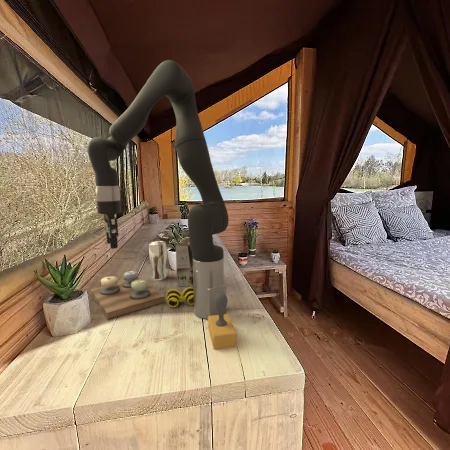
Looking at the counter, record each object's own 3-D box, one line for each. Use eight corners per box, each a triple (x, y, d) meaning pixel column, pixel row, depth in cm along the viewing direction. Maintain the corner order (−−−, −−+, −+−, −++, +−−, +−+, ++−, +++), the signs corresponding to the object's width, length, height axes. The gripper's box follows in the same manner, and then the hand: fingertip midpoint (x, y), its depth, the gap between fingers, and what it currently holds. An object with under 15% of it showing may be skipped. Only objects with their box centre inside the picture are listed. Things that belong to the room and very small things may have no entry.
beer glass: (146, 279, 111) (144, 243, 109) (158, 274, 117) (156, 240, 115) (160, 282, 108) (158, 245, 106) (171, 276, 114) (169, 241, 112)
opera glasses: (167, 310, 87) (167, 297, 85) (166, 300, 91) (166, 288, 90) (197, 306, 89) (198, 293, 88) (195, 297, 94) (195, 284, 92)
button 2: (149, 288, 91) (149, 282, 90) (134, 292, 88) (134, 286, 87) (143, 284, 95) (143, 278, 94) (129, 287, 92) (128, 281, 91)
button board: (164, 301, 91) (163, 293, 90) (107, 319, 80) (106, 309, 79) (140, 282, 108) (139, 275, 107) (91, 294, 97) (90, 286, 97)
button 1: (118, 284, 94) (118, 278, 94) (103, 288, 91) (102, 282, 91) (114, 280, 98) (114, 274, 98) (99, 283, 95) (99, 278, 95)
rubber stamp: (208, 327, 75) (207, 286, 73) (228, 325, 76) (228, 284, 74) (213, 350, 65) (212, 303, 63) (237, 346, 66) (236, 300, 64)
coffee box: (192, 287, 102) (191, 245, 100) (176, 286, 104) (174, 245, 101) (199, 278, 111) (198, 240, 109) (184, 277, 113) (183, 239, 110)
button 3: (140, 278, 100) (139, 273, 99) (126, 281, 97) (126, 276, 96) (135, 274, 104) (135, 269, 103) (122, 277, 101) (121, 272, 100)
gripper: (124, 200, 88) (127, 248, 91) (116, 197, 100) (120, 240, 103) (98, 201, 85) (103, 251, 87) (94, 198, 97) (98, 242, 99)
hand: (112, 245), depth 95 cm, fingers open, 8 cm apart
